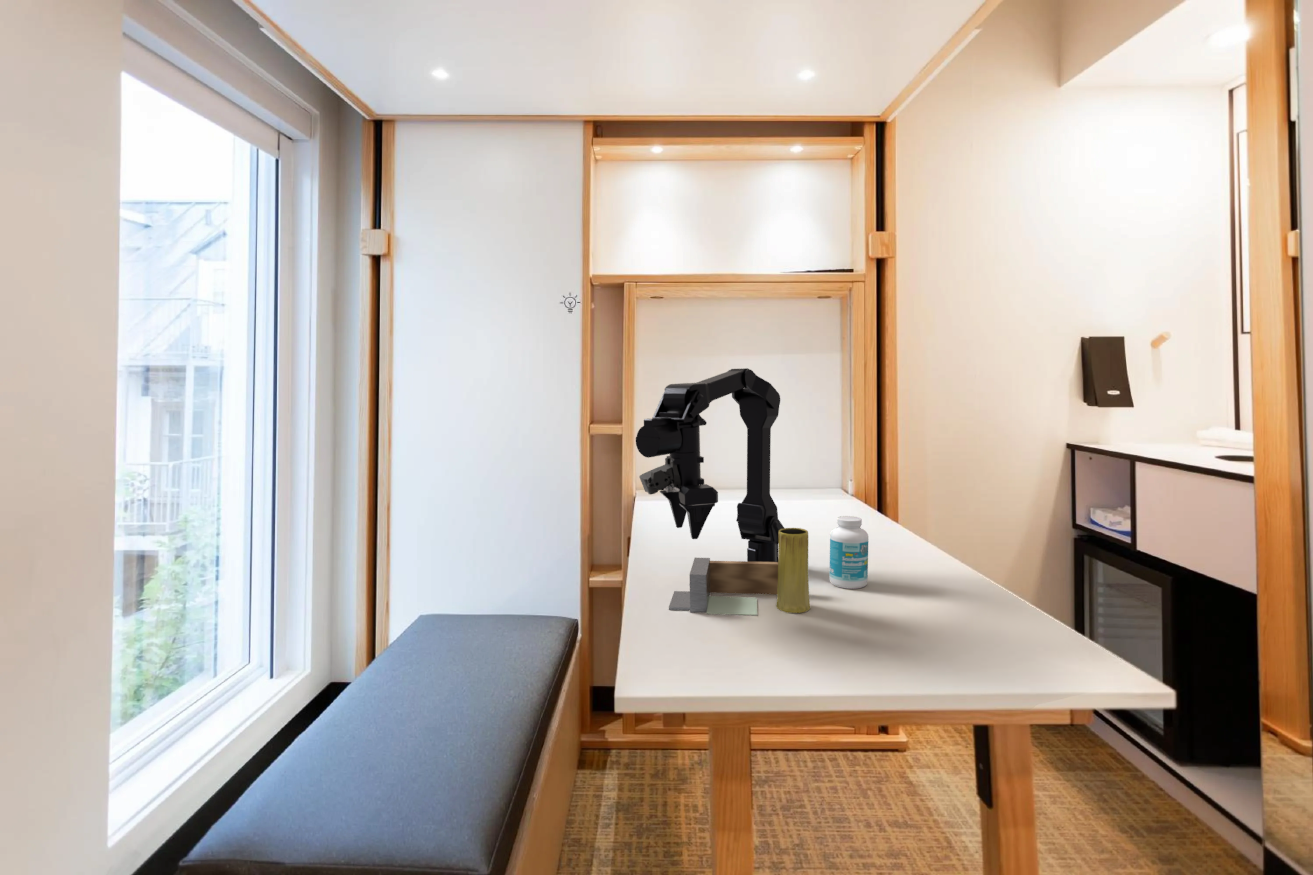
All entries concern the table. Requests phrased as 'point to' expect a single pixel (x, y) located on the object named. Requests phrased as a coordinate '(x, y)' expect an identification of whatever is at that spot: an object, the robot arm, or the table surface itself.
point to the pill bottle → (849, 553)
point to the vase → (793, 571)
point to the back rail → (743, 577)
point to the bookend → (694, 589)
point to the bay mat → (732, 605)
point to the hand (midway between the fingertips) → (686, 532)
